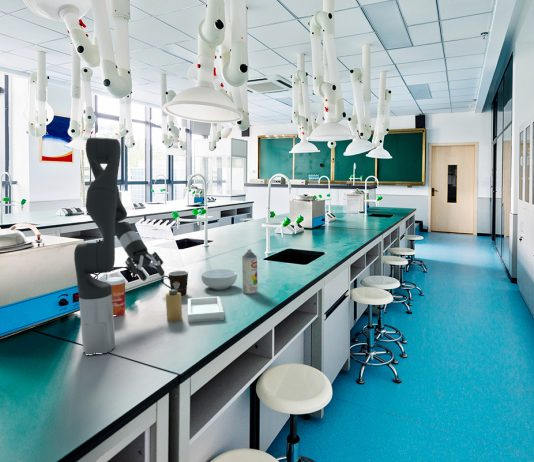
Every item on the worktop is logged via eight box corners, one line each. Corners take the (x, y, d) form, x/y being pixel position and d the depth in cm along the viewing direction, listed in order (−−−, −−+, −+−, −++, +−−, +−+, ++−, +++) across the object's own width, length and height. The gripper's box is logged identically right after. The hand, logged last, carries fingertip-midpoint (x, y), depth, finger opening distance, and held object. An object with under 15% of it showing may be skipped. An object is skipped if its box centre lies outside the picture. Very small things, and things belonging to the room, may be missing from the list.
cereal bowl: (194, 289, 188) (194, 275, 187) (215, 281, 203) (214, 267, 202) (224, 294, 180) (224, 278, 179) (243, 285, 195) (243, 271, 194)
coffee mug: (192, 293, 182) (192, 272, 180) (179, 298, 174) (178, 276, 173) (174, 290, 187) (173, 269, 186) (160, 295, 180) (159, 273, 179)
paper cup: (105, 318, 151) (103, 282, 149) (108, 311, 158) (105, 277, 156) (127, 316, 153) (125, 280, 151) (128, 309, 160) (126, 275, 158)
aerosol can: (253, 295, 178) (252, 251, 175) (240, 293, 181) (239, 250, 178) (260, 291, 184) (259, 248, 181) (246, 289, 187) (245, 247, 184)
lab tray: (223, 319, 147) (223, 311, 147) (188, 322, 145) (187, 314, 144) (219, 303, 167) (219, 296, 166) (188, 305, 164) (187, 298, 164)
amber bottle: (181, 321, 147) (180, 292, 145) (166, 322, 146) (165, 293, 144) (182, 316, 152) (180, 288, 151) (167, 317, 151) (166, 289, 149)
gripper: (121, 241, 150) (143, 275, 145) (151, 236, 161) (172, 267, 156) (113, 254, 153) (134, 287, 148) (143, 248, 165) (164, 279, 160)
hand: (154, 277), depth 152 cm, fingers open, 8 cm apart
